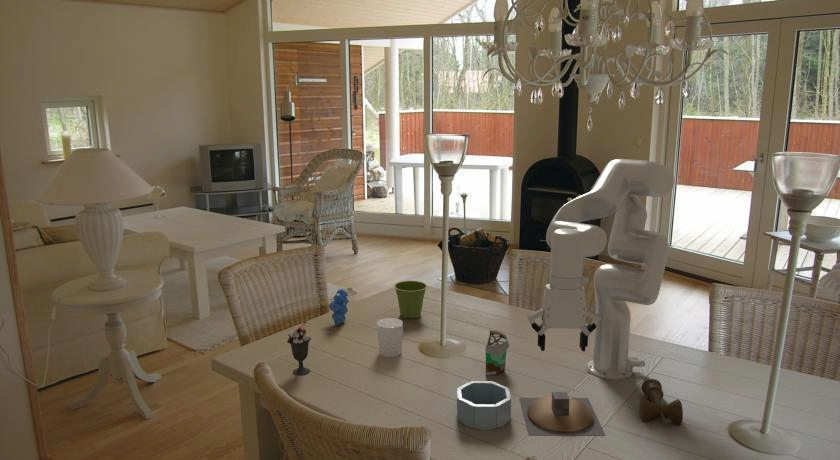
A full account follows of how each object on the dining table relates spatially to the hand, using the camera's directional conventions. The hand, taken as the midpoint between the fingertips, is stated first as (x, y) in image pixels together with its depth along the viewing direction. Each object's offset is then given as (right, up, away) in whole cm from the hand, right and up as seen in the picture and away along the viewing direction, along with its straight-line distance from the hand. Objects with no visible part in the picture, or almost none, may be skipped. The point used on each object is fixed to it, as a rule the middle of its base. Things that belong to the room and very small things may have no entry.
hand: (562, 349), depth 154 cm
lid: (0, -17, +4) cm, 18 cm away
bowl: (-19, -18, +5) cm, 26 cm away
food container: (-12, -12, +30) cm, 35 cm away
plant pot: (-38, -2, +74) cm, 83 cm away
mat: (0, -18, +5) cm, 18 cm away
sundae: (-69, -13, +31) cm, 77 cm away
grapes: (-63, -4, +68) cm, 93 cm away
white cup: (-44, -9, +43) cm, 62 cm away
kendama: (+25, -18, +6) cm, 31 cm away
